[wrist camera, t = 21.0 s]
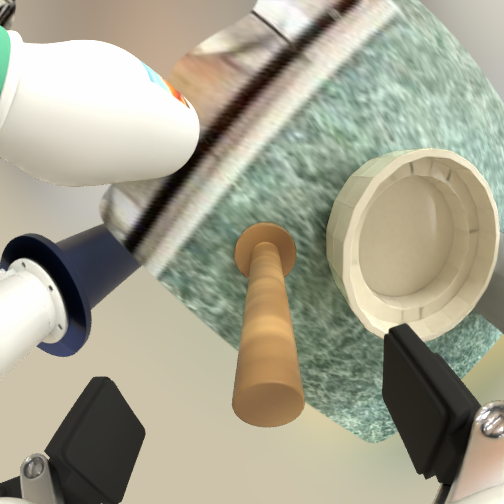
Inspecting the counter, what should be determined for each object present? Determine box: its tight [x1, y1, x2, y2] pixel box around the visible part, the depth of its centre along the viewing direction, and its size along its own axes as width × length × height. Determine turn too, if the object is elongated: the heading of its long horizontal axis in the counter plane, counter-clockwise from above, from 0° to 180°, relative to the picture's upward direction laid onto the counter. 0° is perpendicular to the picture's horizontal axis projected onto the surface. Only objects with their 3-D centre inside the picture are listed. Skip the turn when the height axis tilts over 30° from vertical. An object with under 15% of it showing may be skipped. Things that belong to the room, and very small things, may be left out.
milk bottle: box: [0, 26, 199, 187], centre depth 12 cm, size 8×8×20 cm
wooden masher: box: [232, 222, 305, 427], centre depth 16 cm, size 5×5×17 cm
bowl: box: [326, 148, 500, 342], centre depth 20 cm, size 15×15×6 cm
